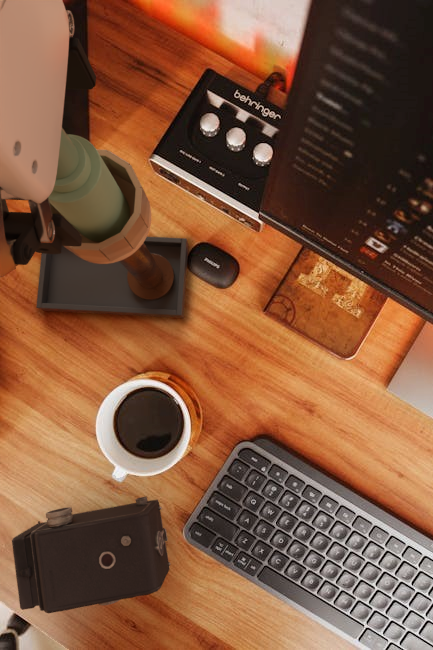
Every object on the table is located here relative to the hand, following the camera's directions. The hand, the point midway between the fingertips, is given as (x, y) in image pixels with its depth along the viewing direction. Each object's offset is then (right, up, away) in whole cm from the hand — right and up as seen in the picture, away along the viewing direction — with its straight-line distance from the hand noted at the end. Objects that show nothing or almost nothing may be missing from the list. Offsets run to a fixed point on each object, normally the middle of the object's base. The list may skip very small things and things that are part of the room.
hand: (63, 160), depth 33 cm
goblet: (+1, -4, +34) cm, 34 cm away
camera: (-3, -34, +32) cm, 47 cm away
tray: (-3, -4, +35) cm, 35 cm away
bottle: (0, -1, +10) cm, 10 cm away
